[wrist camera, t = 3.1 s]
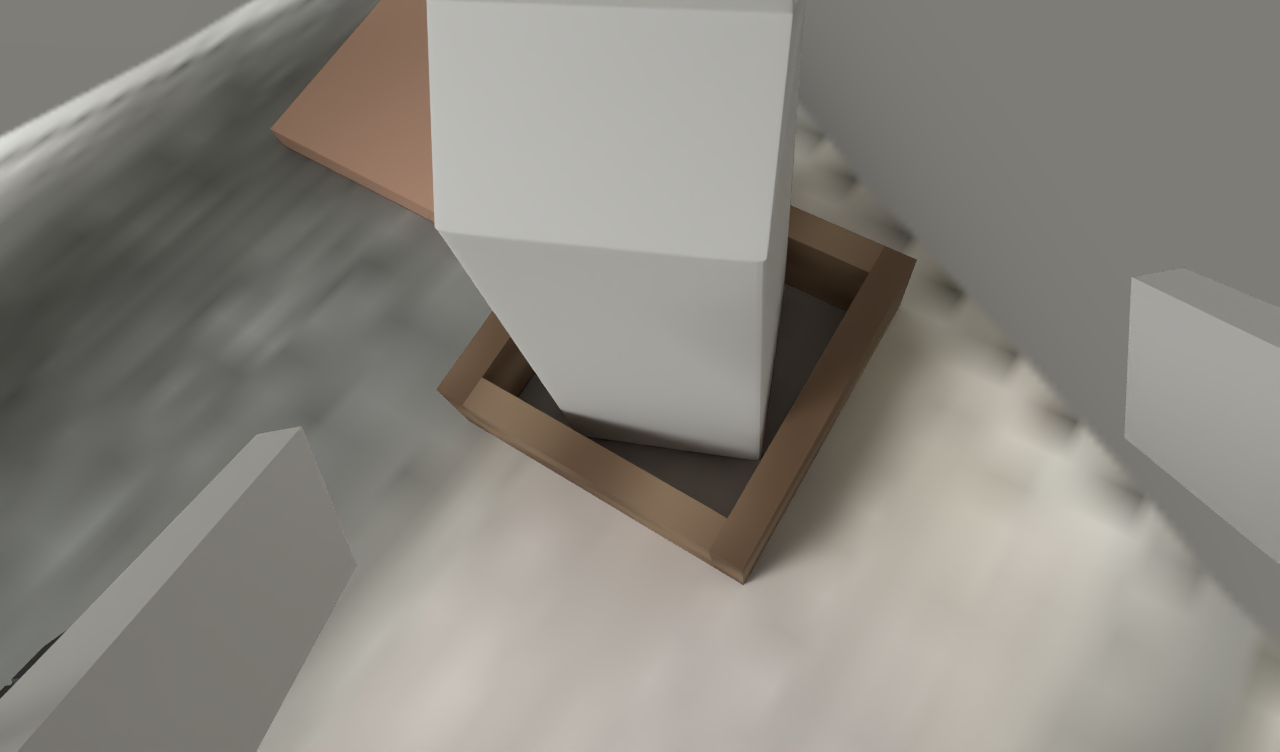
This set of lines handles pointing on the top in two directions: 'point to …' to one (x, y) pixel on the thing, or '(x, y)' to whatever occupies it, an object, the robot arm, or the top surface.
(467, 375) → the tray
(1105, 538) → the top surface
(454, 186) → the milk carton
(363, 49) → the terracotta board
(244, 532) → the robot arm
